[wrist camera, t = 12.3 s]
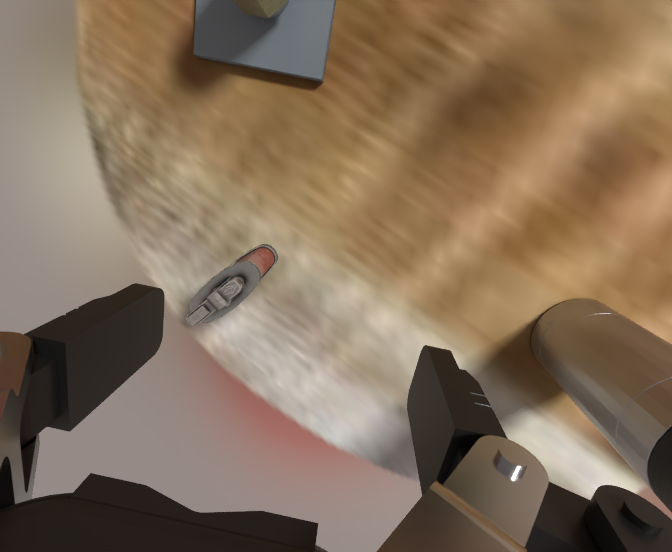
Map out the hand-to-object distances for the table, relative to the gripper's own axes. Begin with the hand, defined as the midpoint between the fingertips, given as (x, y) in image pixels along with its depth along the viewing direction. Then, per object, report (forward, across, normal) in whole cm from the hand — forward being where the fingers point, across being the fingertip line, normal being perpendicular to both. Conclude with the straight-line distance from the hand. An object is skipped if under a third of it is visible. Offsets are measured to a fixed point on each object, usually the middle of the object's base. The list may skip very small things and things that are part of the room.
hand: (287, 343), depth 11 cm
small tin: (+28, +9, +8) cm, 31 cm away
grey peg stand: (+28, +10, -18) cm, 35 cm away
